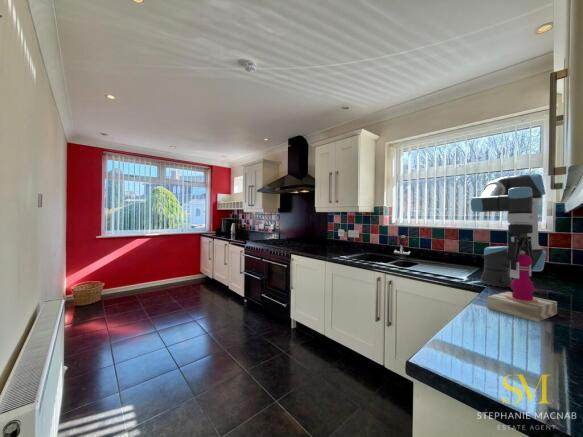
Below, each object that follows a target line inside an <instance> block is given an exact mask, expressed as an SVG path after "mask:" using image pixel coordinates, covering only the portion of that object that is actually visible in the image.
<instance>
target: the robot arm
mask: <svg viewBox="0 0 583 437" xmlns="http://www.w3.org/2000/svg"><path fill="white" fill-rule="evenodd" d="M543 179H544V178H543V175H542V174H540V173H529V174H520V175H519V174H518V175H511V176H504V177H499V178H495V179H494V180H491V181H489V182H488V183H487V184H485V186H484V187H483V192H482V194H481V195H480V196H475V197H471V200H470V210H471V211H472V212H473V213H489V212H490V213H495V212H497V213H499V212H507V223H508V225H507V227H508V228H507V229H508V230H507V231H508V233H509V234H512V236H508V245H507V246H506V245H505V246H504V245H502V246H500V245H499V246H487V247H485V248H484V249H483V250H484V251H483V272H482V275H481V277H480V283H481V284H482V283H483V285H485V284H487V285H486V286H490V285H492V286H491V287H495V286H498V287H497V288H506V287H510V288H511V283H512V281H513V279H514V278H518V279H519V262H518V258H519V255H520V251H524V252H525V254H524V255H528V256H529V257H531V259H532V264H531V265H530V266H529V267H531V268H530V269H531V270H529V277H532V272H542V271H543V270H544V267H545V261H546V256H547V251H546V250H543V246H541V245H540V244H539V214H538V213H539V201H540V200H541V199H542V198H543V196H545V195H546V190H545V185H544V184H545V183H544V180H543ZM512 278H513V279H512Z"/></svg>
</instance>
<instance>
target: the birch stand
mask: <svg viewBox="0 0 583 437" xmlns="http://www.w3.org/2000/svg"><path fill="white" fill-rule="evenodd" d="M512 293H513V292H511V291H505V292H500V293H496V294H492V295H488V296H487V298H486V305H487V306H486V308H487V309H489V310H493V311H497V312H500V313H503V314H504V313H505V314H507V315H512V316H515V317H519V318H524V319H527V320H530V321H535V322H541V321H543V320H546V319H548V318H551V317H553V316H555V315H556V316H557V314H558V301H556V300H550V299H544V298H541V297H540V298H539V297H535V296H533V300H532V301H526V300H520V299H516V298H513V297H512Z"/></svg>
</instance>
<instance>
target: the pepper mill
mask: <svg viewBox="0 0 583 437" xmlns="http://www.w3.org/2000/svg"><path fill="white" fill-rule="evenodd" d="M524 254H525V252H524V251H520V255H519V258H518V262H519V279H518V278H513V279H512V283H511V287H510V289H511V290H512V291H513V292H512V297H513V298H516V299H520V300H526V301H532V300H533V297H534V295H533V293H534V292H535V284H534V283H533V281H532V279H531V278H530V277H531V276H529V270H531V269H530V268H531V267H529V266H530V265H531V264H532V259H531V257H529V256H528V255H524Z"/></svg>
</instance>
